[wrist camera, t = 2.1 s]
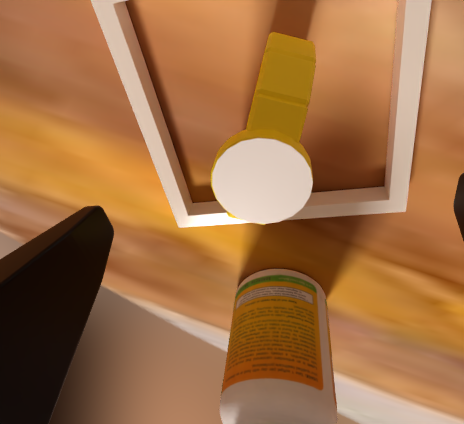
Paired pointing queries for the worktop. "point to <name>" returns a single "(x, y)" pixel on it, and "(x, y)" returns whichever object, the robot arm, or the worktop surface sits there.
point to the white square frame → (319, 203)
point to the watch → (270, 140)
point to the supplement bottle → (279, 353)
